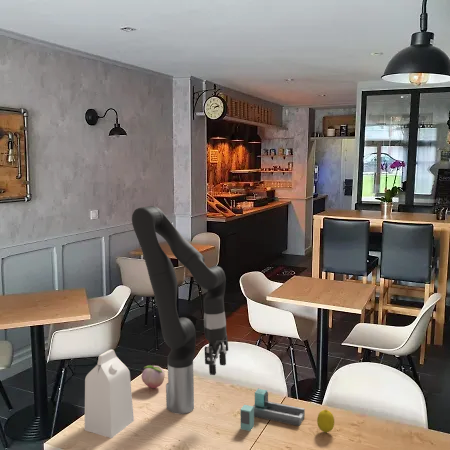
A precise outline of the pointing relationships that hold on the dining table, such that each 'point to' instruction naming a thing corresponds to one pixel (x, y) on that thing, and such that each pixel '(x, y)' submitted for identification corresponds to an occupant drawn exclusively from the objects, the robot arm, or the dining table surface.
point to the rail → (276, 410)
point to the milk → (108, 396)
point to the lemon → (325, 421)
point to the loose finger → (247, 417)
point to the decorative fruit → (153, 376)
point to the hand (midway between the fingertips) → (218, 369)
